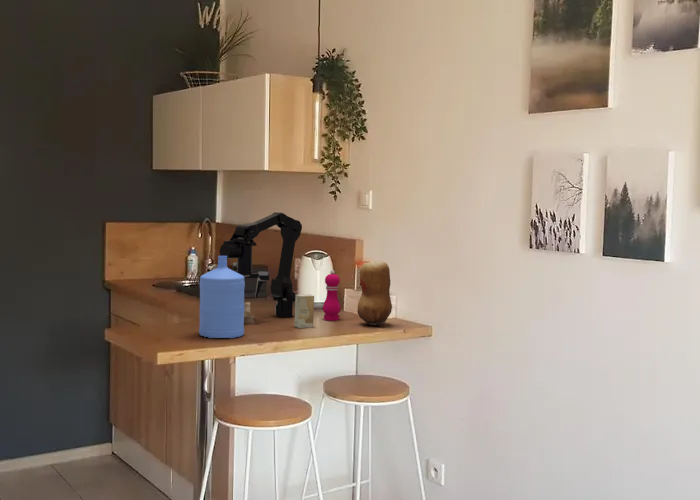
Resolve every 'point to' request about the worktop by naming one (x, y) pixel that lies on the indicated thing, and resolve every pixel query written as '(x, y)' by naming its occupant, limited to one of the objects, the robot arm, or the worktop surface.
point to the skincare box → (304, 311)
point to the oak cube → (246, 309)
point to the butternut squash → (375, 293)
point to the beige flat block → (249, 319)
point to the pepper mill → (331, 298)
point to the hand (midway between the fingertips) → (244, 298)
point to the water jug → (222, 302)
